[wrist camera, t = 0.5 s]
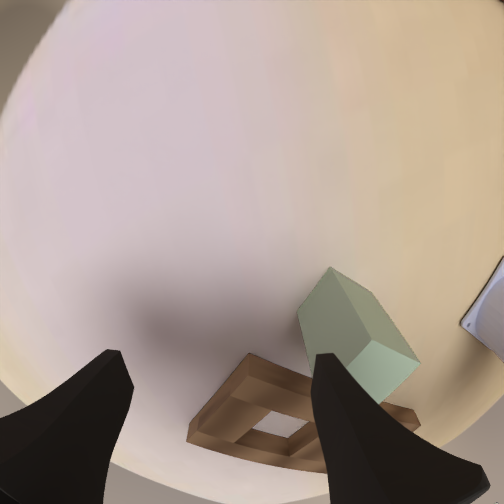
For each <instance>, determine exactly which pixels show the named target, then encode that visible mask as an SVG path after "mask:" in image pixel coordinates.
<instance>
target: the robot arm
mask: <svg viewBox="0 0 504 504" xmlns="http://www.w3.org/2000/svg"><path fill="white" fill-rule="evenodd" d="M461 326H462V327H463V328H465V329H466V330H467V331H468V332H469V333H471V334H472V335H473V336H474V337H476V338H477V339H478V340H479V341H480V342H482V343H483V344H484V345H485V346H486V347H488V348H489V349H490V350H493V351H494V352H495V354H496V355H497V356H498V357H499V358H500V359H501V361H502V362H503V363H504V258H503V259H502V261H501V263H500V264H499V266H498V268H497V269H496V271H495V273H494V274H493V276H492V278H491V279H490V281H489V282H488V284H487V285H486V287H485V289H484V290H483V292H482V293H481V295H480V296H479V297H478V299H477V300H476V302H475V303H474V305H473V306H472V307H471V309H470V310H469V312H468V313H467V314H466V316H465V317H464V318H463V320H462V321H461ZM133 391H134V385H133V383H132V381H131V378H130V376H129V373H128V370H127V368H126V365H125V363H124V360H123V357H122V354H121V352H120V351H118V350H110V349H107V350H105V351H104V352H102V353H101V354H100V355H98V356H97V357H96V358H94V359H93V360H92V361H91V362H89V363H88V364H87V365H86V366H84V367H83V368H82V369H81V370H79V371H78V372H77V373H76V374H74V375H73V376H72V377H71V378H69V379H68V380H67V381H65V382H64V383H63V384H61V385H60V386H58V387H57V388H56V389H54V390H53V391H52V392H50V393H49V394H47V395H46V396H44V397H42V398H41V399H39V400H38V401H36V402H34V403H32V404H31V405H29V406H27V407H25V408H23V409H21V410H19V411H17V412H14V413H12V414H10V415H7V416H5V417H2V418H0V504H103V497H104V490H105V483H106V477H107V472H108V468H109V463H110V459H111V456H112V452H113V450H114V447H115V444H116V442H117V439H118V436H119V434H120V431H121V429H122V426H123V424H124V421H125V418H126V416H127V413H128V411H129V407H130V403H131V400H132V395H133ZM310 393H311V401H312V409H313V416H314V420H315V424H316V428H317V432H318V436H319V440H320V444H321V448H322V452H323V456H324V460H325V464H326V469H327V475H328V483H329V492H330V502H331V504H470V503H472V502H473V501H475V500H476V499H477V498H479V497H480V496H481V495H483V494H484V493H485V492H486V491H487V490H488V489H489V488H490V483H489V481H488V478H487V476H486V474H485V472H484V470H483V468H482V467H481V465H478V464H475V463H472V462H470V461H467V460H464V459H461V458H458V457H456V456H454V455H452V454H449V453H447V452H445V451H443V450H441V449H439V448H437V447H435V446H434V445H432V444H430V443H429V442H427V441H425V440H424V439H422V438H420V437H419V436H417V435H416V434H414V433H413V432H411V431H410V430H409V429H407V428H406V427H404V426H403V425H402V424H401V423H399V422H398V421H397V420H396V419H394V418H393V417H392V416H391V415H390V414H389V413H387V412H386V411H385V410H384V409H383V408H382V407H381V406H380V405H379V404H378V403H377V402H376V401H375V400H374V399H373V398H372V397H371V396H370V395H369V394H368V393H367V392H366V391H365V390H364V389H363V388H362V386H361V385H360V384H359V383H358V382H357V381H356V380H355V379H354V377H353V376H352V375H351V374H350V373H349V371H348V370H347V369H346V368H345V367H344V365H343V364H342V363H341V361H340V360H339V359H338V358H337V356H336V355H335V354H334V353H324V354H316V359H315V366H314V372H313V379H312V385H311V391H310ZM495 504H499V503H498V502H496V503H495Z"/></svg>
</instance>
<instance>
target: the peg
mask: <svg viewBox="0 0 504 504" xmlns="http://www.w3.org/2000/svg"><path fill="white" fill-rule="evenodd" d="M297 315H298V319H299V323H300V327H301V331H302V335H303V340H304V344H305V348H306V352H307V357H308V361H309V365H310V370H311V374H312V379H313V372H314V366H315V359H316V354H324V353H334V354H335V355H336V356H337V358H338V359H339V360H340V361H341V363H342V364H343V365H344V367H345V368H346V369H347V370H348V371H349V373H350V374H351V375H352V376H353V377H354V379H355V380H356V381H357V382H358V383H359V384H360V385H361V386H362V388H363V389H364V390H365V391H366V392H367V393H368V394H369V395H370V396H371V397H372V398H373V399H374V400H375V401H376V402H377V403H378V404H380V403H381V402H382V401H383V400H384V399H385V398H386V397H388V396H389V395H390V394H391V393H392V392H393V391H394V390H395V389H396V388H397V387H398V386H399V385H400V384H401V383H402V382H403V381H404V380H405V379H406V378H407V377H408V376H409V375H410V374H411V373H412V372H413V371H414V370H415V369H416V368H417V367H418V366H419V365H420V364H421V363H420V361H419V360H418V358H417V357H416V355H415V354H414V352H413V351H412V349H411V348H410V346H409V345H408V343H407V342H406V340H405V339H404V337H403V336H402V334H401V333H400V331H399V330H398V328H397V327H396V326H395V324H394V323H393V321H392V320H391V318H390V317H389V316H388V314H387V313H386V311H385V310H384V309H383V307H382V306H381V304H380V303H379V302H378V300H377V299H376V298H375V296H374V295H373V293H372V292H371V291H369V290H367V289H366V288H364V287H363V286H361V285H359V284H358V283H356V282H354V281H353V280H351V279H350V278H348V277H346V276H345V275H343V274H341V273H340V272H338V271H336V270H335V269H333V268H331V267H329V269H328V270H327V272H326V273H325V274H324V276H323V277H322V278H321V280H320V281H319V283H318V284H317V285H316V287H315V288H314V289H313V291H312V292H311V293H310V295H309V296H308V297H307V299H306V300H305V301H304V303H303V304H302V305H301V307H300V308H299V309H298V310H297Z"/></svg>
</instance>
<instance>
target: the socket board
mask: <svg viewBox="0 0 504 504" xmlns="http://www.w3.org/2000/svg"><path fill="white" fill-rule="evenodd" d="M311 385H312V378H309V377H307V376H304V375H301V374H299V373H296V372H294V371H291V370H288V369H286V368H283V367H281V366H278V365H276V364H274V363H271V362H269V361H266V360H264V359H262V358H259V357H257V356H255V355H252V354H250V353H248V355H247V356H246V357H245V358H244V360H243V361H242V362H241V363H240V365H239V366H238V367H237V368H236V369H235V371H234V372H233V373H232V374H231V376H230V377H229V378H228V379H227V380H226V382H225V383H224V384H223V385H222V386H221V387H220V389H219V390H218V391H217V392H216V393H215V395H214V396H213V397H212V398H211V399H210V400H209V402H208V403H207V404H206V405H205V406H204V407H203V409H202V410H201V411H200V412H199V413H198V414H197V415H196V416H195V418H194V419H193V420H192V421H191V422H190V424H189V429H188V435H187V440H186V442H188V443H191V444H194V445H197V446H200V447H203V448H206V449H209V450H212V451H216V452H219V453H222V454H226V455H229V456H233V457H237V458H241V459H245V460H249V461H253V462H257V463H262V464H267V465H272V466H277V467H282V468H288V469H294V470H301V471H308V472H316V473H326V474H327V469H326V464H325V460H324V456H323V452H322V448H321V444H320V440H319V436H318V432H317V428H316V424H315V420H314V416H313V409H312V401H311V393H310V391H311ZM379 405H380V406H381V407H382V408H383V409H384V410H385V411H386V412H387V413H389V414H390V415H391V416H392V417H393V418H394V419H396V420H397V421H398V422H399V423H401V424H402V425H403V426H404V427H406V428H407V429H409V430H410V431H411V432H413V431H415V430H416V429H417V428H418V427H420V426H421V424H420V422H419V420H418V418H417V416H416V414H415V412H414V410H411V409H407V408H403V407H400V406H396V405H392V404H389V403H385V402H381V403H380V404H379ZM271 410H272V411H275V412H279V413H282V414H285V415H289V416H292V417H296V418H299V419H303V420H306V421H310V422H309V423H307V424H306V425H305V426H304V427H302V428H301V429H300V430H298V431H297V432H296V433H295V434H293V435H292V436H291V437H289V438H284V437H280V436H276V435H272V434H268V433H265V432H261V431H258V430H254V429H251V428H252V427H253V426H255V425H256V424H257V423H258V422H259V421H260V420H261V419H263V418H264V417H265V416H266V415H267V414H268V413H269V412H270V411H271Z"/></svg>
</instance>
